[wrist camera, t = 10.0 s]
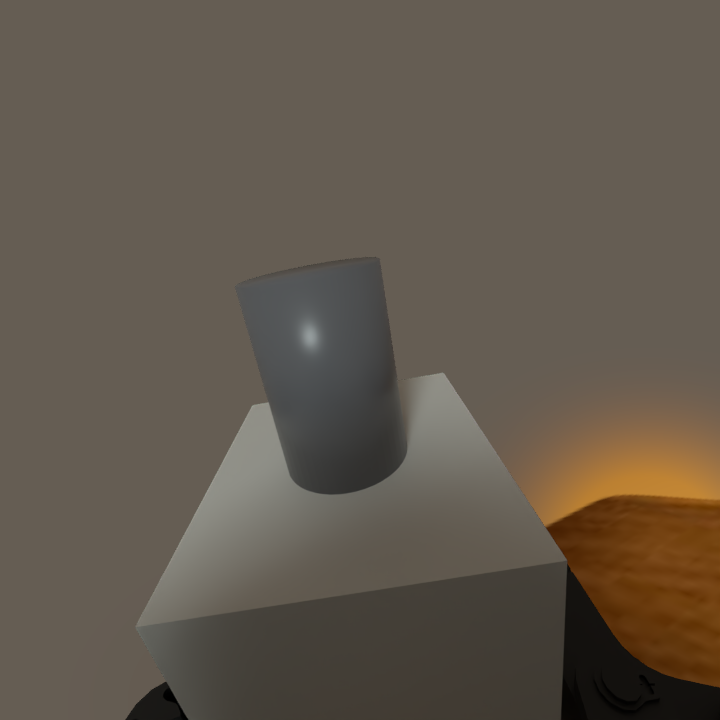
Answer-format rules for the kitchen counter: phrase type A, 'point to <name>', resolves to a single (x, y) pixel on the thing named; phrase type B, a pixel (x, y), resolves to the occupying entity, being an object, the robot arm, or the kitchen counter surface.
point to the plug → (357, 538)
